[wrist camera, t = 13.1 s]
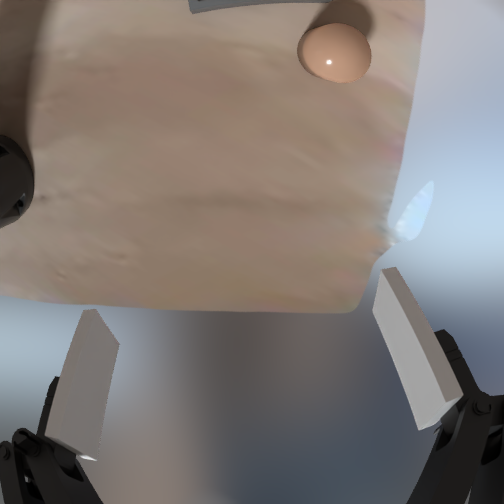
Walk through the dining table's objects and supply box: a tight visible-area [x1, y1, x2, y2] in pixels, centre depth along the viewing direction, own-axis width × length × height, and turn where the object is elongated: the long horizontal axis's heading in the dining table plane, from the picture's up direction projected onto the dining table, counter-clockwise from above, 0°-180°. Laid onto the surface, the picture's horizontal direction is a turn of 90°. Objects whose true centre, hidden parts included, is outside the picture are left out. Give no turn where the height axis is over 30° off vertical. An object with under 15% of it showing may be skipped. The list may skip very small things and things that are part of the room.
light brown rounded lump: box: [297, 23, 371, 83], centre depth 27 cm, size 7×7×6 cm
